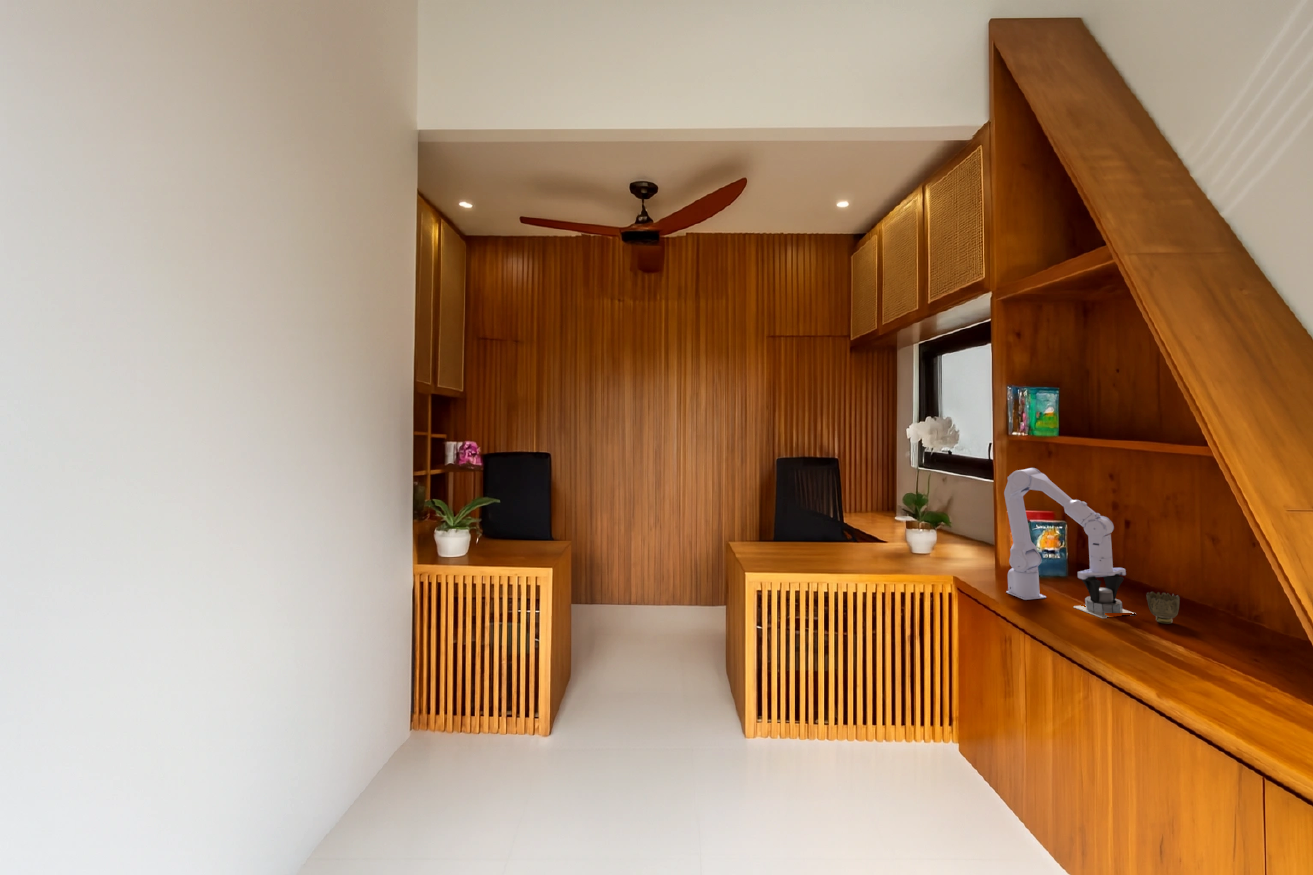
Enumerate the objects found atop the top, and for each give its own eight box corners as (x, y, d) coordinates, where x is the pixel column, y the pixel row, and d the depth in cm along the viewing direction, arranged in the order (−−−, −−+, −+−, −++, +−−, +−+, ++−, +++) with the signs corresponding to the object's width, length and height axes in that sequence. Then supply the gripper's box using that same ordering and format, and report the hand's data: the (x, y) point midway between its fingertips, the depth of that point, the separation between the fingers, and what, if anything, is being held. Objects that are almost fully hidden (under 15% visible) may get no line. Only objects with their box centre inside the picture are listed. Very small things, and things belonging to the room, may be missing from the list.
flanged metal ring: (1073, 607, 187) (1072, 596, 187) (1104, 604, 188) (1104, 593, 188) (1102, 618, 176) (1102, 607, 176) (1136, 614, 177) (1135, 603, 177)
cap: (1089, 603, 184) (1088, 588, 184) (1102, 602, 185) (1102, 586, 185) (1103, 608, 179) (1103, 592, 179) (1117, 606, 180) (1117, 590, 180)
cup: (1178, 628, 165) (1176, 600, 164) (1145, 623, 170) (1143, 595, 170) (1183, 621, 169) (1182, 594, 169) (1150, 616, 175) (1149, 589, 175)
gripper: (1089, 561, 177) (1092, 605, 177) (1133, 556, 178) (1136, 600, 179) (1071, 556, 184) (1073, 598, 184) (1113, 552, 185) (1115, 594, 186)
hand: (1103, 599), depth 182 cm, fingers closed on cap, 5 cm apart
